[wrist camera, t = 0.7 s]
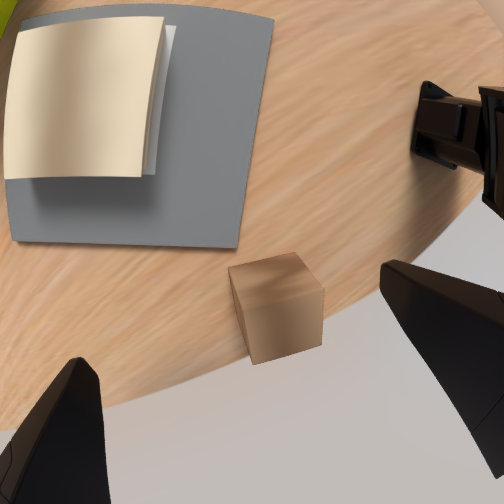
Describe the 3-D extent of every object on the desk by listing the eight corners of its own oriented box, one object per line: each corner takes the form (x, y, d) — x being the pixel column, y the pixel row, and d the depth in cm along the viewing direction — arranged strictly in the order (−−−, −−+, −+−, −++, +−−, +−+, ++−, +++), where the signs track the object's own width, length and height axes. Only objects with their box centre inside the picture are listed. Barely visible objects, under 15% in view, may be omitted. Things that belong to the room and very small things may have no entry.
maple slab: (165, 32, 12) (164, 16, 9) (147, 166, 15) (140, 177, 13) (40, 41, 10) (18, 32, 7) (27, 167, 13) (4, 179, 10)
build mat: (271, 22, 13) (274, 19, 13) (234, 244, 20) (236, 248, 19) (26, 21, 9) (22, 19, 8) (15, 237, 15) (11, 241, 15)
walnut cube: (294, 251, 21) (324, 289, 17) (296, 304, 24) (321, 345, 19) (227, 266, 21) (242, 310, 16) (237, 319, 23) (253, 365, 19)
